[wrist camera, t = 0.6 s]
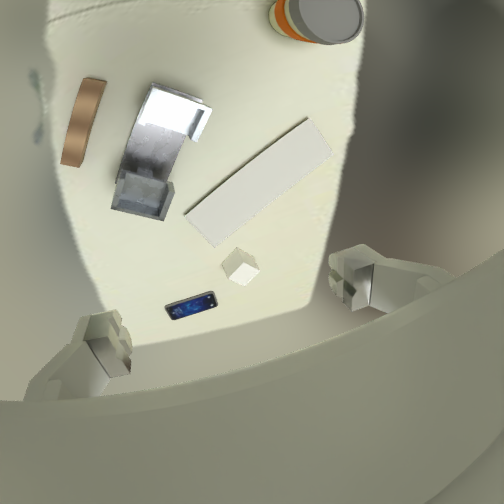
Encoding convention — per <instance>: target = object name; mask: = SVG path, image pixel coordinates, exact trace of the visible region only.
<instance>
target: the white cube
mask: <svg viewBox="0 0 504 504" xmlns="http://www.w3.org/2000/svg"><path fill="white" fill-rule="evenodd" d="M222 265H223V268H224V270H225V273H226V276H227V278H228V279H229V280H231V281H234V282H236V283H238V284H240V285H243V286H246V285H247V284H248V283H249V282H250V281H251V280H252V279H253V278H254V277H255V276H256V275H257V274H258V273H259V272H260V269H259V267H258V266H257V264H256V262H255V260H254V258H253V256H251V255H249V254H248V253H246V252H244V251H242V250H240V249H239V248H237V247H236V249H235V250H234V251H233V252H232V253H231V254H230V255H229V256H228V257H227V258H226V259H225V261H224V262H223V263H222Z"/></svg>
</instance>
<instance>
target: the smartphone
mask: <svg viewBox="0 0 504 504" xmlns="http://www.w3.org/2000/svg"><path fill="white" fill-rule="evenodd" d="M217 306H218V302H217V300H216V297H215V294H214V292H213V291H209V292H206V293H203V294H200V295H196V296H193V297H190V298H187V299H184V300H181V301H177V302H174V303H171V304H168V305H166V306H165V310H166V312H167V313H168V315H169V317H170V318H171V319H172V320H177V319H180V318H183V317H186V316H189V315H193V314H196V313H199V312H202V311H205V310H208V309H211V308H214V307H217Z"/></svg>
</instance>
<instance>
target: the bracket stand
mask: <svg viewBox="0 0 504 504" xmlns="http://www.w3.org/2000/svg"><path fill="white" fill-rule="evenodd" d="M202 101H203V100H202V99H200V98H197V97H194V96H192V95H189V94H186V93H184V92H181V91H178V90H175V89H172V88H169V87H166V86H163V85H160V84H157V83H154V82H152V84H151V86H150V89H149V91H148V93H147V95H146V98H145V100H144V102H143V105H142V107H141V109H140V112H139V114H138V117H137V119H136V122H135V125H134V127H133V130H132V133H131V135H130V138H129V141H128V144H127V146H126V149H125V152H124V155H123V158H122V161H121V165H120V168H119V171H118V174H117V178H116V181H115V184H117V185H116V189H115V192H114V196H113V200H112V205H111V209H113V210H118V211H122V212H126V213H130V214H135V215H139V216H143V217H148V218H152V219H156V220H160V221H164V219H165V217H166V214H167V211H168V209H169V206H170V204H171V201H172V199H173V196H174V194H175V191H174V186H173V183H172V182H168V181H167V179H168V177H169V174H170V172H171V169H172V167H173V165H174V162H175V160H176V157H177V155H178V153H179V150H180V148H181V146H182V144H183V141H184V139H185V137H186V135H188V136H189V138H190V140H191V141H194V142H197V141H198V139H199V137H200V135H201V132H202V130H203V128H204V126H205V124H206V122H207V120H208V118H209V116H210V114H211V112H212V110H213V109H212V108H210V107H209V106H207V105H205V104H202Z"/></svg>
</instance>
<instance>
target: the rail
mask: <svg viewBox="0 0 504 504" xmlns="http://www.w3.org/2000/svg"><path fill="white" fill-rule="evenodd" d="M106 83H107V82H106V81H101V80H97V79H92V78H84V79H83V80H82V83H81V86H80V89H79V92H78V95H77V98H76V102H75V105H74V108H73V112H72V115H71V119H70V123H69V126H68V130H67V134H66V139H65V143H64V148H63V153H62V158H61V163H60V164H63V165H68V166H73V167H78V168H79V167H80V165H81V164H82V162H83V159H84V155H85V151H86V147H87V143H88V139H89V136H90V132H91V129H92V125H93V122H94V118H95V115H96V112H97V109H98V106H99V103H100V100H101V97H102V94H103V92H104V89H105V86H106Z"/></svg>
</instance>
